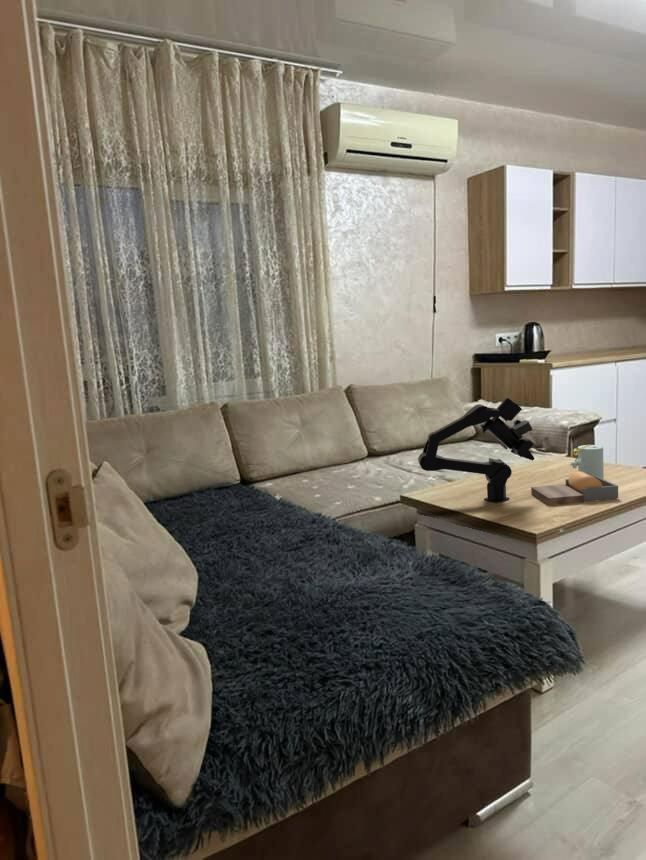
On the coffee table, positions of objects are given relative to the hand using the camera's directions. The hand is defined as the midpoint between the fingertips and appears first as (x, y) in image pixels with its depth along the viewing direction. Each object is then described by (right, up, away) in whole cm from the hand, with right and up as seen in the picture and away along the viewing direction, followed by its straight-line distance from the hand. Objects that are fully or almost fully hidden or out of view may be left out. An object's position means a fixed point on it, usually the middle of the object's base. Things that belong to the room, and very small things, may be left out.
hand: (533, 459), depth 216 cm
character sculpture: (+27, -9, +18) cm, 34 cm away
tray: (+20, -12, -2) cm, 23 cm away
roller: (+17, -9, -2) cm, 19 cm away
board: (+8, -13, -2) cm, 15 cm away
